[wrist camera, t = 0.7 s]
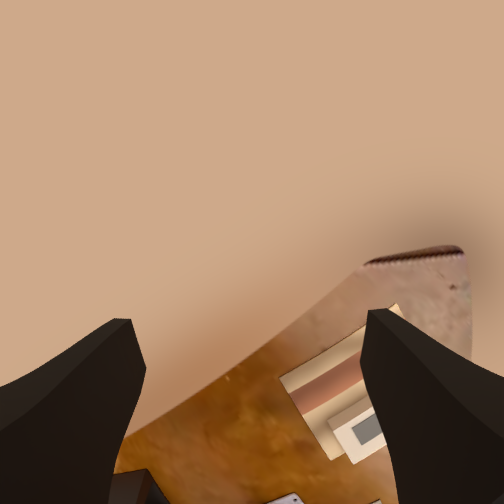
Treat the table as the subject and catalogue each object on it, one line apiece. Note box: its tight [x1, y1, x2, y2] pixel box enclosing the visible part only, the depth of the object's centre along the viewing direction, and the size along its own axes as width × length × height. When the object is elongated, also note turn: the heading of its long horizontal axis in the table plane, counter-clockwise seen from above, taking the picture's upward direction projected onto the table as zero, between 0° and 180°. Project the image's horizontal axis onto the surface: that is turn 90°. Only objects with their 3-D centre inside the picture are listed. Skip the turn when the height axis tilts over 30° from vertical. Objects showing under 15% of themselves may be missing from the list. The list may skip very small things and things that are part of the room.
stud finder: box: [327, 395, 387, 465], centre depth 26 cm, size 5×7×4 cm
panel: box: [279, 304, 405, 460], centre depth 29 cm, size 12×15×1 cm
